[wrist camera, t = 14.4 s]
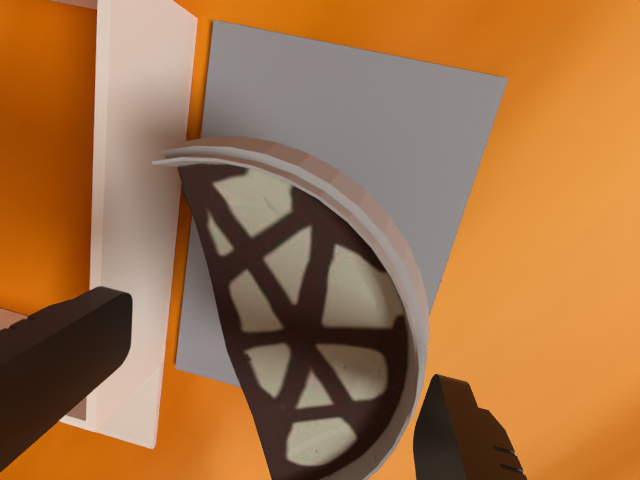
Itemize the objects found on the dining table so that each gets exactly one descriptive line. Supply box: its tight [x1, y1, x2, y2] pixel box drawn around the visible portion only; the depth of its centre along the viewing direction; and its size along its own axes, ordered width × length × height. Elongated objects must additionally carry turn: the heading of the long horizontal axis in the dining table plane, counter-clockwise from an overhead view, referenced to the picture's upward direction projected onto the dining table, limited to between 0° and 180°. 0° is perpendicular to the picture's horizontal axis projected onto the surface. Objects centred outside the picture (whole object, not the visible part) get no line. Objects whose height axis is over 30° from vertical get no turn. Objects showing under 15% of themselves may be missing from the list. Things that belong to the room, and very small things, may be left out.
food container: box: [151, 136, 430, 480], centre depth 14 cm, size 12×6×10 cm, turn 12°
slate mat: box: [175, 20, 508, 387], centre depth 19 cm, size 14×20×1 cm
